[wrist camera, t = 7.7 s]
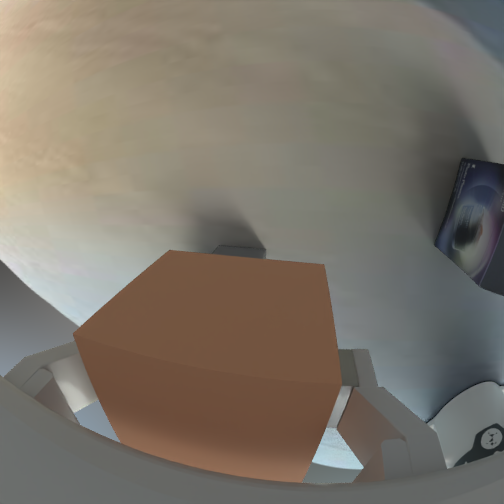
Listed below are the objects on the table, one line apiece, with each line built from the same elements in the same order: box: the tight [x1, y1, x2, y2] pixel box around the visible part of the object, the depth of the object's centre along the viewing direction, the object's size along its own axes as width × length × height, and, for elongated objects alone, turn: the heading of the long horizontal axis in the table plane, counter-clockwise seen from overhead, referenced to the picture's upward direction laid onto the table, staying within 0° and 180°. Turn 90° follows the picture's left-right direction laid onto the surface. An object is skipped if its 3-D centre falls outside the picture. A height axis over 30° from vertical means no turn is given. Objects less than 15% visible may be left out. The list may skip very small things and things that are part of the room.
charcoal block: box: [212, 245, 266, 259], centre depth 29 cm, size 5×5×5 cm
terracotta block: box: [73, 250, 342, 483], centre depth 8 cm, size 5×5×5 cm
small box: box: [434, 158, 504, 296], centre depth 20 cm, size 11×6×10 cm, turn 167°
